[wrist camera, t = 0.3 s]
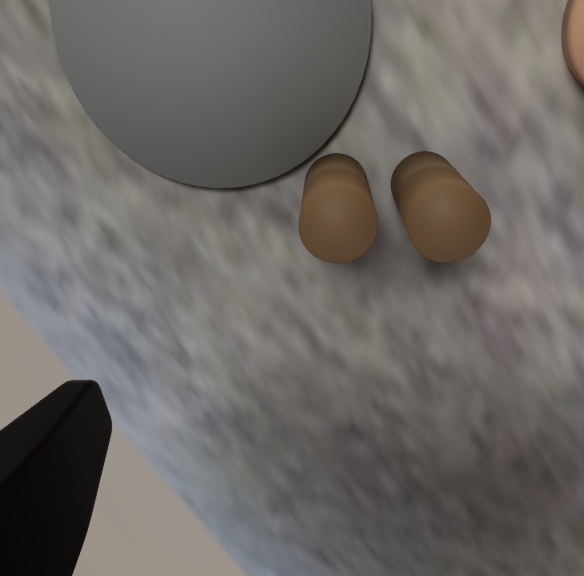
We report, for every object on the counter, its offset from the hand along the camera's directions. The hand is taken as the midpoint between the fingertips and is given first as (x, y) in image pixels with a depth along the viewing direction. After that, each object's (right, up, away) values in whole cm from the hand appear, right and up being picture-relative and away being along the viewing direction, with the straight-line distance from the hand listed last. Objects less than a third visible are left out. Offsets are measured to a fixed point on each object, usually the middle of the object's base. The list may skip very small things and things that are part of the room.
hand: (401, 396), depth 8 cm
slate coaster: (-4, +11, +11) cm, 16 cm away
